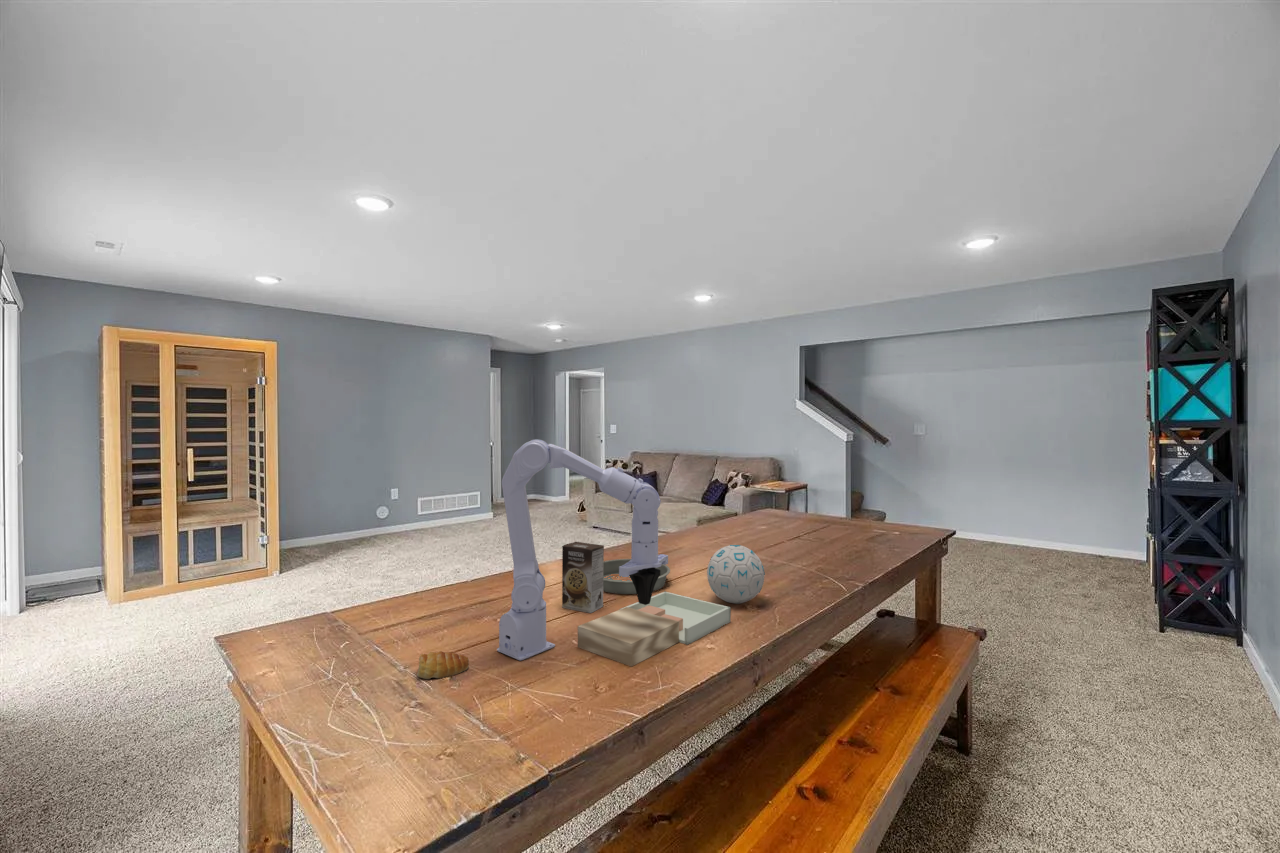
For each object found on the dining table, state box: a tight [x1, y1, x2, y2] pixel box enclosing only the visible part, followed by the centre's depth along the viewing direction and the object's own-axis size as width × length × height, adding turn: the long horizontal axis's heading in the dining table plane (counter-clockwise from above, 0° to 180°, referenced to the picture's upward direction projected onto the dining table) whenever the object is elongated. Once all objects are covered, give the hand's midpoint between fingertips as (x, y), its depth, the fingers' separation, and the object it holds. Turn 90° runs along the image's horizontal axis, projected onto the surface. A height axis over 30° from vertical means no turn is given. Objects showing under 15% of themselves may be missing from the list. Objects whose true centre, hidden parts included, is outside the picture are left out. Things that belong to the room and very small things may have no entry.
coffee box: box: [561, 541, 605, 614], centre depth 148 cm, size 9×6×16 cm
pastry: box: [416, 650, 470, 680], centre depth 111 cm, size 9×7×4 cm
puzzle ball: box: [706, 544, 766, 605], centre depth 153 cm, size 15×15×15 cm
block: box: [577, 606, 680, 668], centre depth 124 cm, size 16×15×4 cm
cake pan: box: [603, 558, 671, 595], centre depth 170 cm, size 25×25×4 cm
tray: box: [618, 591, 732, 646], centre depth 137 cm, size 18×20×4 cm
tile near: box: [661, 614, 683, 631], centre depth 131 cm, size 5×5×2 cm
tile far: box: [638, 605, 665, 616], centre depth 137 cm, size 5×5×2 cm
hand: (644, 603), depth 124 cm, fingers closed
